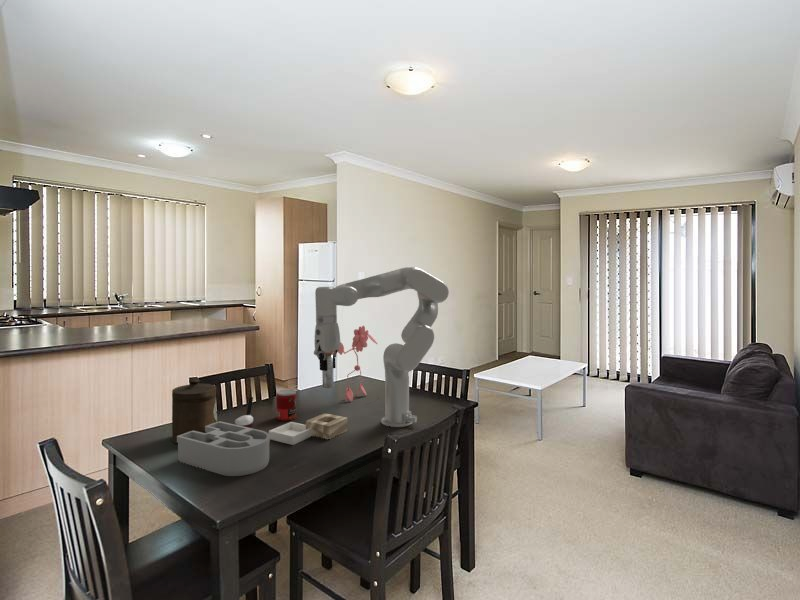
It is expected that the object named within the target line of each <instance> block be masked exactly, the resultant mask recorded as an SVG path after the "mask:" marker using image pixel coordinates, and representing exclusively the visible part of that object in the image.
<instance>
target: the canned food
mask: <svg viewBox="0 0 800 600" xmlns="http://www.w3.org/2000/svg"><path fill="white" fill-rule="evenodd" d="M276 418H277V420H278V421H280V420H281V421H282V422H289V420H290V421H294V420H295V419H296V418H297V392H296V390H294V389H282V390H277V391H276ZM293 419H294V420H293Z"/></svg>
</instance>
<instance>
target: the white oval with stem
mask: <svg viewBox="0 0 800 600" xmlns="http://www.w3.org/2000/svg"><path fill="white" fill-rule="evenodd" d="M253 400H254V397H253V396H249V397H248V402H247V409H246V414H245V415H240V416H239V417H238V418H236V419H235V421H234V425H239V426H243V427H248V428H253V427H254V425H253V424H254V417H253V416H252V414H251V411H252V405H253V402H254V401H253Z"/></svg>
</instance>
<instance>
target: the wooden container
mask: <svg viewBox="0 0 800 600" xmlns="http://www.w3.org/2000/svg"><path fill="white" fill-rule="evenodd" d="M188 383H189V384H186V385H180V386H177V387H175V388H173V389H172V391H171V398H172V399H171V400H172V401H171V410H172V411H171V422H172V424H171V426H172V430H171V431H172V433H171V434H172V437H171V438H172V442H173V443H174V442H175V444H176V443H178V442H177V436H179V435H181V434H184V433H187V432H190V431H197V432H202V433H206V432H205V426H207V425H210V424H213V423H216V422H218V413H217V412H218V409H217V386H216V385H215V384H211V383H200V379H199V378H198V377H191V378H190V379H189V380H188Z"/></svg>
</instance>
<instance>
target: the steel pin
mask: <svg viewBox="0 0 800 600" xmlns="http://www.w3.org/2000/svg"><path fill="white" fill-rule="evenodd" d="M321 351H322V350H321ZM333 353H334V350H333V351H330V352H326V360H327V368H328V370H327V371H322V370H321V373H322V374H321V375H322V389H333V388H334V387H335V386H334V368H333ZM321 354H322V355H323V353H321Z"/></svg>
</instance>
